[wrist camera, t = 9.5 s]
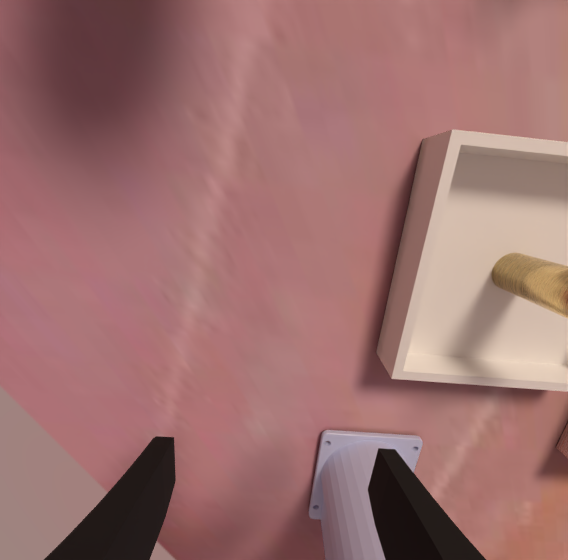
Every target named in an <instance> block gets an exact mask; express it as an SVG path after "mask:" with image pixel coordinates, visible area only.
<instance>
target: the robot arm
mask: <svg viewBox="0 0 568 560" xmlns="http://www.w3.org/2000/svg"><path fill="white" fill-rule="evenodd" d="M326 441H329V442H326ZM422 444H423V442H422V440H421V438H420V437H419V436H415V435H400V434H384V433H368V432H353V431H337V430H325V431H324V432H322V435H321V440H320V446H319V452H318V458H317V464H316V470H315V476H314V482H313V488H312V494H311V499H310V505H309V517H310V518H312V519H321V527H322V535H323V544H324V552H325V560H486V559H485V558H484V557H483V556H482V555H481V554H480V552H479V551H478V550H477V549H476V548H475V547H474V546H473V545H472V543H471V542H470V541H469V540H468V539H467V538H466V537H465V535H464V534H463V533H462V532H461V531H460V530H459V528H458V527H457V526H456V525H455V524H454V523H453V521H452V520H451V519H450V518H449V517H448V515H447V514H446V513H445V512H444V510H443V509H442V508H441V507H440V506H439V504H438V503H437V502H436V501H435V500H434V498H433V497H432V496H431V495H430V493H429V492H428V491H427V489H426V488H425V487H424V486H423V484H422V483H421V482H420V481H419V479H418V478H417V477H416V475H415V474H414V470H415V467H416V464H417V460H418V457H419V454H420V451H421V448H422ZM174 484H175V453H174V437H155V438H153V439H152V441H151V442H150V443H149V444H148V446H147V447H146V448H145V450H144V451H143V452H142V453H141V455H140V456H139V457H138V458H137V459H136V461H135V462H134V463H133V464H132V466H131V467H130V468H129V469H128V470H127V472H126V473H125V474H124V475H123V476H122V477H121V479H120V480H119V481H118V482H117V483H116V484H115V485H114V487H113V488H112V489H111V490H110V491H109V492H108V493H107V495H106V496H105V497H104V498H103V499H102V500H101V501H100V502H99V504H98V505H97V506H96V507H95V508H94V509H93V510H92V511H91V512H90V513H89V514H88V515H87V516H86V517H85V519H83V521H82V522H81V523H80V524H79V525H78V526H77V527H76V528H75V529H74V530H73V531H72V532H71V533H70V534H69V535H68V536H67V537H66V538H65V539H64V540H63V541H62V542H61V544H59V545H58V547H56V548H55V549H54V550H53V551H52V553H50V554H49V555H48V556H47V557H46V558H45V559H44V560H149V559H150V557H151V554H152V551H153V549H154V546H155V543H156V541H157V538H158V535H159V533H160V530H161V527H162V525H163V522H164V519H165V517H166V513H167V509H168V506H169V502H170V499H171V495H172V492H173V488H174Z"/></svg>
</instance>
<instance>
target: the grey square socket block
mask: <svg viewBox="0 0 568 560" xmlns="http://www.w3.org/2000/svg"><path fill="white" fill-rule="evenodd" d="M556 448H557V449H559V450H560V451H561V452H562V453H563V454H564V455H565V456H566V457H567V458H568V423H567V425H566V427H565V429H564V431H563V433H562V436H561V438H560V440H559V442H558V444H557V446H556Z"/></svg>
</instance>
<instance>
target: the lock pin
mask: <svg viewBox="0 0 568 560" xmlns="http://www.w3.org/2000/svg"><path fill="white" fill-rule="evenodd" d="M492 281H493V283H494V284H495V285H496V286H497V287H499V288H501V289H503V290H505V291H507V292H510V293H512V294H514V295H516V296H519V297H521V298H523V299H525V300H527V301H530V302H532V303H534V304H536V305H539V306H541V307H543V308H545V309H547V310H550V311H552V312H554V313H556V314H559V315H561V316H563V317H565V318H567V319H568V266H566V265H562V264H559V263H555V262H551V261H547V260H544V259H540V258H536V257H532V256H529V255H525V254H521V253H510V254H507V255H505V256H503V257H502V258H500V259H499V260H498V261H497V262H496V264H495V265H494V267H493V270H492Z"/></svg>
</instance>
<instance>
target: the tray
mask: <svg viewBox="0 0 568 560" xmlns="http://www.w3.org/2000/svg"><path fill="white" fill-rule="evenodd" d="M510 253H521V254H525V255H529V256H532V257H536V258H540V259H544V260H547V261H551V262H555V263H559V264H562V265H566V266H568V142H562V141H553V140H544V139H534V138H525V137H516V136H507V135H498V134H489V133H480V132H471V131H462V130H453V129H452V130H449V131H446V132H443V133H440V134H437V135H434V136H431V137H428V138H425V139H423V140H422V145H421V149H420V154H419V158H418V163H417V168H416V172H415V177H414V181H413V186H412V190H411V195H410V200H409V204H408V209H407V213H406V218H405V223H404V227H403V232H402V236H401V241H400V245H399V250H398V255H397V259H396V264H395V268H394V273H393V277H392V282H391V287H390V291H389V296H388V300H387V305H386V310H385V314H384V319H383V323H382V328H381V332H380V337H379V342H378V346H377V351H376V353H377V355H378V357H379V358H380V360H381V362H382V363H383V365H384V367H385V369H386V370H387V372H388V374H389V375H390V377H391V379H401V380H415V381H429V382H443V383H457V384H470V385H484V386H498V387H512V388H526V389H540V390H553V391H567V392H568V319H567V318H565V317H563V316H561V315H559V314H556V313H554V312H552V311H550V310H547V309H545V308H543V307H541V306H539V305H536V304H534V303H532V302H530V301H527V300H525V299H523V298H521V297H519V296H516V295H514V294H512V293H510V292H507V291H505V290H503V289H501V288H499V287H497V286H496V285H495V284H494V283H493V281H492V270H493V267H494V265H495V264H496V262H497V261H498V260H499V259H500V258H502V257H503V256H505V255H507V254H510Z"/></svg>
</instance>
